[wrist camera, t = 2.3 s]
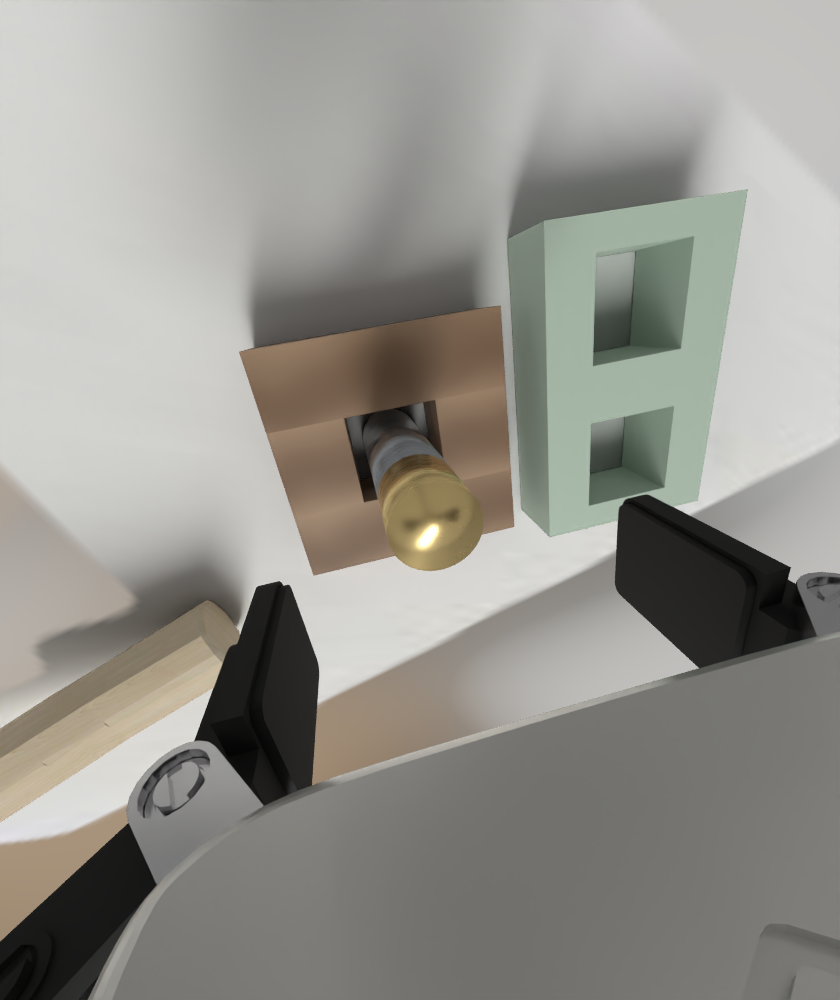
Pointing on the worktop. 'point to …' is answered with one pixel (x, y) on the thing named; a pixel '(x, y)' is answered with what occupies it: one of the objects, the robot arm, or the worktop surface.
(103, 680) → the hammer
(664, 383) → the frame
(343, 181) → the worktop surface
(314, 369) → the socket block
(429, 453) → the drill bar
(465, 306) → the worktop surface
